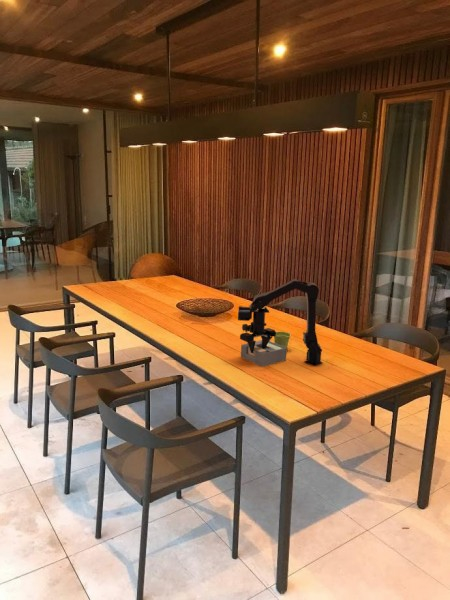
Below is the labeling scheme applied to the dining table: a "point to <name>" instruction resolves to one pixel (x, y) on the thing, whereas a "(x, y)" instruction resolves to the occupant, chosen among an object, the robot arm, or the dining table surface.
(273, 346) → the jig board
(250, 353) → the maple block
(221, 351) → the dining table surface
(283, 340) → the plant pot
